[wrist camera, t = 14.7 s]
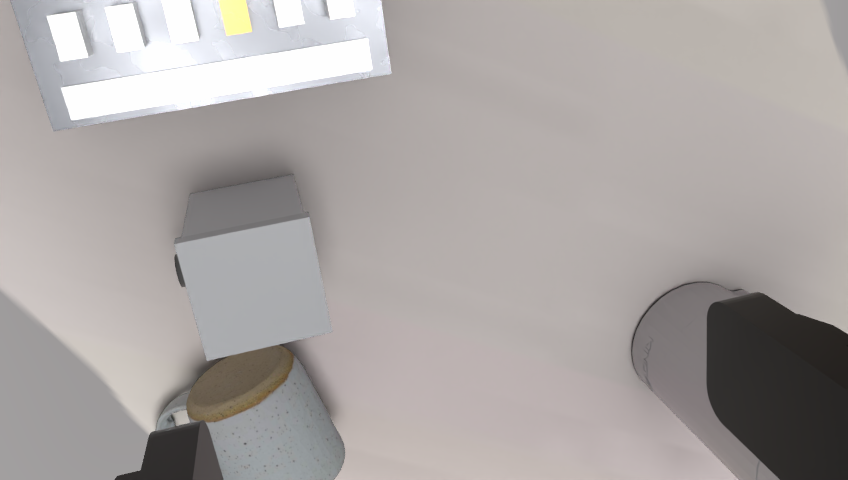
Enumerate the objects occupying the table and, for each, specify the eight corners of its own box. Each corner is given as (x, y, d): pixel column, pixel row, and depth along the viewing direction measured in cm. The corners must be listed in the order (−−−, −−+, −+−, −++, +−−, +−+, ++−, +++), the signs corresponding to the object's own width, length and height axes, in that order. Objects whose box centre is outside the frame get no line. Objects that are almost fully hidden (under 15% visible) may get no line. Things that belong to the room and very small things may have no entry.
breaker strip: (358, -67, 40) (376, -71, 35) (378, 64, 42) (397, 77, 37) (26, -21, 37) (-7, -19, 32) (70, 116, 39) (45, 138, 34)
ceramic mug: (289, 319, 47) (295, 383, 40) (340, 415, 50) (354, 490, 43) (132, 389, 46) (111, 466, 39) (195, 482, 49) (185, 568, 42)
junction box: (296, 170, 43) (309, 217, 35) (315, 267, 46) (332, 332, 38) (169, 194, 42) (154, 248, 34) (196, 293, 45) (188, 365, 37)
